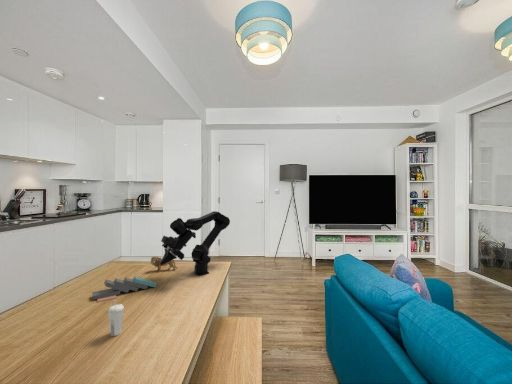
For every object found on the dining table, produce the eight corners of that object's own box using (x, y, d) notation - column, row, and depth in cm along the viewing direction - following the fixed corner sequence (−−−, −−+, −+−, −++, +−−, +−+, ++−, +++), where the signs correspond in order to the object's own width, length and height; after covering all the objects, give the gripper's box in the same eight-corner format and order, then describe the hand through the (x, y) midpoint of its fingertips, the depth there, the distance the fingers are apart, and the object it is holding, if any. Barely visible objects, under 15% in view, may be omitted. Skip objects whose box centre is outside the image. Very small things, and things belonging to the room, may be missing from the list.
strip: (113, 290, 115) (113, 289, 115) (116, 298, 107) (116, 297, 107) (95, 294, 111) (95, 293, 111) (97, 302, 103) (97, 301, 103)
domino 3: (136, 284, 119) (115, 278, 114) (138, 288, 115) (117, 281, 109) (134, 288, 118) (113, 281, 113) (136, 291, 114) (115, 285, 109)
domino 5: (154, 281, 124) (134, 276, 118) (157, 284, 120) (136, 279, 114) (152, 284, 123) (132, 279, 118) (155, 287, 119) (135, 282, 114)
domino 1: (118, 286, 114) (92, 292, 108) (120, 290, 110) (93, 296, 104) (118, 290, 114) (92, 295, 108) (120, 294, 110) (93, 299, 104)
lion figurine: (151, 274, 138) (151, 257, 138) (150, 271, 143) (150, 255, 143) (178, 270, 145) (178, 254, 145) (176, 267, 150) (176, 252, 150)
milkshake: (119, 327, 85) (119, 297, 85) (126, 332, 82) (126, 302, 81) (104, 332, 81) (104, 302, 81) (111, 339, 78) (111, 307, 78)
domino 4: (145, 282, 121) (125, 277, 116) (148, 286, 117) (127, 280, 112) (143, 286, 121) (123, 280, 115) (146, 289, 117) (125, 283, 111)
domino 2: (127, 285, 116) (106, 279, 111) (129, 289, 112) (107, 282, 107) (125, 289, 116) (103, 282, 111) (127, 292, 112) (105, 286, 107)
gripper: (165, 227, 134) (143, 250, 127) (177, 232, 119) (153, 259, 112) (180, 240, 139) (159, 263, 132) (193, 246, 124) (171, 273, 117)
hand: (160, 264), depth 123 cm, fingers closed
